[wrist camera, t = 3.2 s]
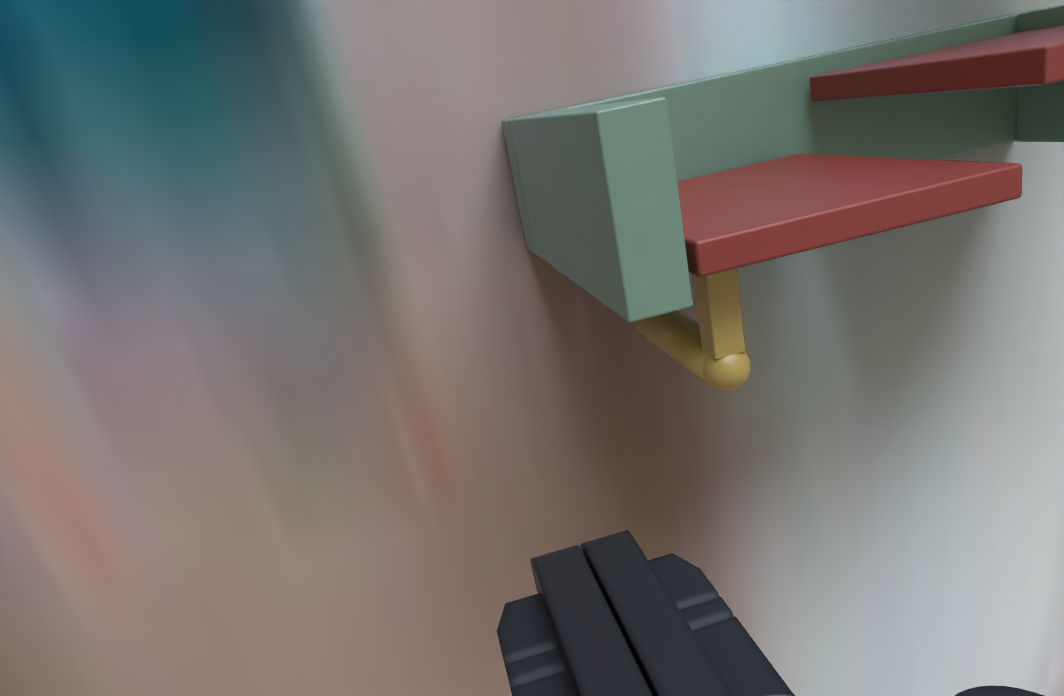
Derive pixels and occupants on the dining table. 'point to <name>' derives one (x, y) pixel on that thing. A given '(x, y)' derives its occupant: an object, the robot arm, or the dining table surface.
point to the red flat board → (799, 232)
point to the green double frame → (766, 141)
